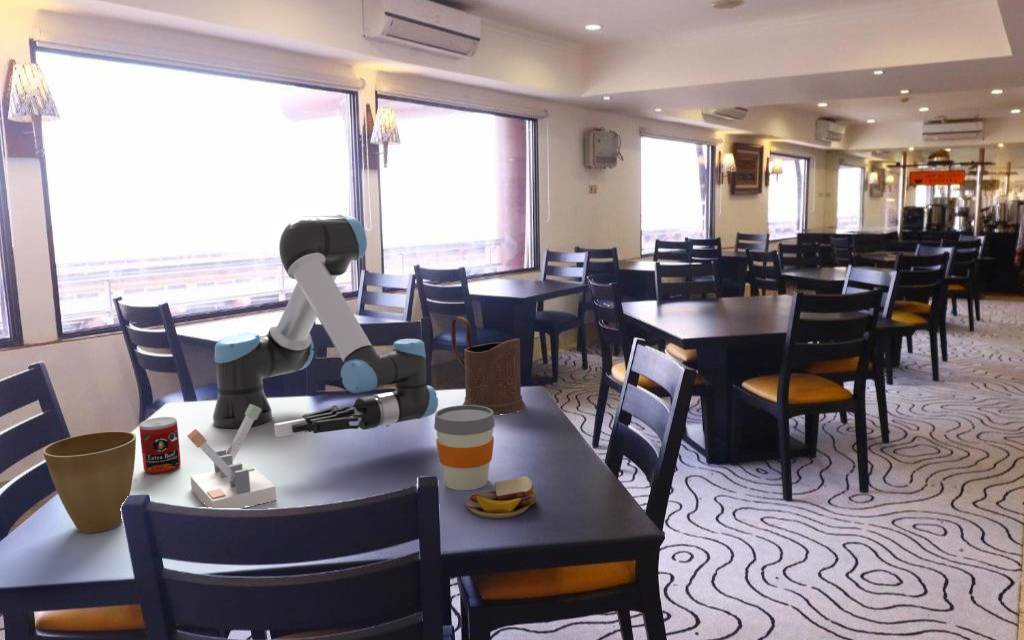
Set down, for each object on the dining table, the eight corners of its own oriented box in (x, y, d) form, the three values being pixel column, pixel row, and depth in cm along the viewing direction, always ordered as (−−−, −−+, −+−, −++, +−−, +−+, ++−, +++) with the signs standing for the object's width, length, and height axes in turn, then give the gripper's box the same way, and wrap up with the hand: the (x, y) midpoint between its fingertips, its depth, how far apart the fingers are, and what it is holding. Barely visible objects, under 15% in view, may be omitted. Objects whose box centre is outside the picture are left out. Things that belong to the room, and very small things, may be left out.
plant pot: (157, 507, 148) (149, 429, 145) (120, 541, 133) (111, 454, 131) (81, 509, 148) (71, 431, 145) (35, 543, 133) (24, 457, 130)
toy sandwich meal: (470, 494, 152) (470, 472, 151) (537, 495, 151) (537, 472, 150) (462, 520, 140) (461, 496, 139) (535, 521, 139) (534, 497, 138)
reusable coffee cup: (473, 498, 150) (471, 425, 147) (424, 486, 156) (421, 416, 154) (507, 477, 160) (506, 409, 158) (459, 467, 167) (457, 402, 164)
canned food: (144, 477, 164) (139, 429, 163) (143, 466, 171) (138, 419, 170) (182, 471, 168) (178, 423, 166) (179, 460, 175) (175, 414, 173)
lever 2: (216, 468, 158) (249, 403, 160) (225, 471, 159) (258, 407, 161) (219, 471, 156) (253, 406, 158) (228, 474, 157) (261, 409, 159)
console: (191, 489, 157) (188, 455, 156) (249, 476, 164) (247, 443, 163) (213, 516, 143) (210, 479, 142) (276, 500, 150) (273, 465, 149)
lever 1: (235, 487, 149) (186, 436, 143) (243, 480, 150) (195, 428, 143) (238, 491, 147) (189, 439, 141) (247, 483, 148) (198, 431, 142)
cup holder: (499, 419, 203) (496, 328, 199) (433, 406, 217) (430, 320, 213) (538, 404, 217) (537, 318, 213) (474, 392, 232) (472, 312, 228)
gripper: (388, 433, 172) (287, 455, 158) (364, 420, 182) (266, 439, 169) (387, 401, 171) (285, 420, 157) (362, 390, 181) (264, 407, 168)
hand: (275, 430), depth 163 cm, fingers closed
